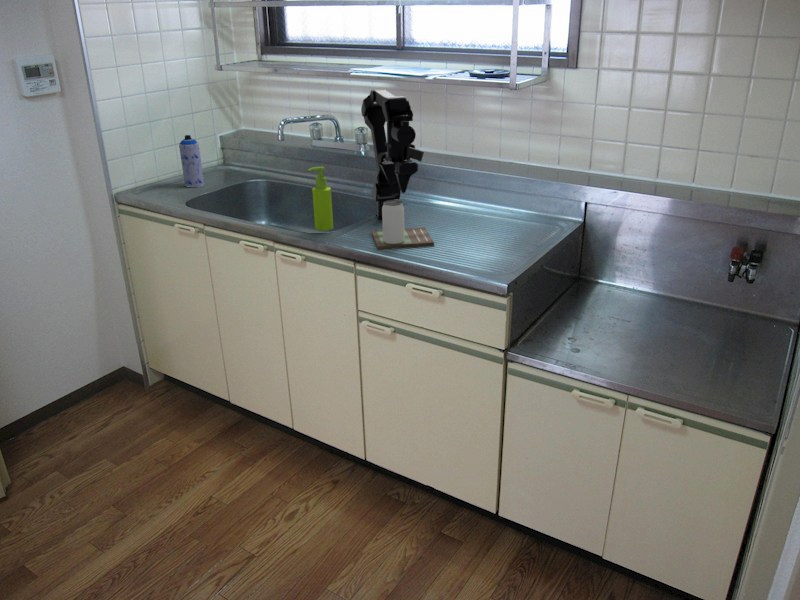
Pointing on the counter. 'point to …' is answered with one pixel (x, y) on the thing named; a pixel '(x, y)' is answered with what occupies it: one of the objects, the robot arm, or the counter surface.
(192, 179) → the aerosol can
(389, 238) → the can
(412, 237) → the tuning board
